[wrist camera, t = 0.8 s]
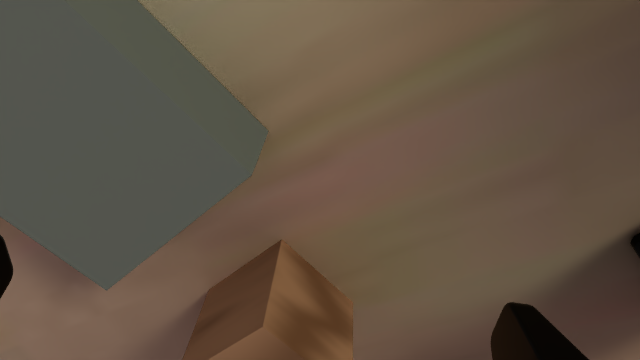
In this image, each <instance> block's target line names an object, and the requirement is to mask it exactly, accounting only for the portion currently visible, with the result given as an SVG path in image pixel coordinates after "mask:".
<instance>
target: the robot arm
mask: <svg viewBox="0 0 640 360" xmlns="http://www.w3.org/2000/svg"><path fill="white" fill-rule="evenodd" d="M630 243H631V246H632V248H633V249H634V250H635V252H636V253H637V255H638V256H639V258H640V233H639V234H637V235H636V236H634V237H633V238H632V240H631V242H630ZM12 275H13V266H12V262H11V259H10V256H9V253H8V250H7V247H6V244H5V241H4V239H3V237H2V236H1V235H0V298H1V297H2V295H3V293H4V292H5V290H6V288H7V286H8V285H9V283H10V281H11V279H12ZM491 351H492V359H493V360H589V359H588V358H587V357H586V356H585V355H583V354H582V353H581V352H580V351H579V350H578V349H577V348H576V347H575V346H574V345H573V344H572V343H571V342H570V341H569V340H568V339H567V338H566V337H565V336H564V335H563V334H562V333H561V332H560V331H559V330H557V329H556V328H555V327H554V326H553V325H552V324H551V323H550V322H549V321H548V320H547V319H546V318H545V317H544V316H543V315H542V314H541V313H540V312H539V311H538V310H537V309H536V308H534V307H533V306H531V305H528V304H521V303H514V302H510V303H507V304H506V305H505V306H504V308H503V310H502V312H501V314H500V317H499V319H498V321H497V323H496V326H495V328H494V330H493V332H492V336H491Z"/></svg>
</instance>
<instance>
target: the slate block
mask: <svg viewBox="0 0 640 360" xmlns="http://www.w3.org/2000/svg"><path fill="white" fill-rule="evenodd" d="M267 134H268V130H267V129H266V128H265V127H264V126H263V125H262V124H261V123H260V122H259V121H258V120H257V119H256V118H255V117H254V116H253V115H252V114H251V113H250V112H249V111H248V110H247V109H246V108H245V107H244V106H243V105H242V104H241V103H240V102H239V101H238V100H237V99H236V98H235V97H234V96H233V95H232V94H231V93H230V92H229V91H228V90H227V89H226V88H225V87H224V86H223V85H222V84H221V83H220V82H219V81H218V80H217V79H216V78H215V77H214V76H213V75H212V74H211V73H210V72H209V71H208V70H207V69H206V68H205V67H204V66H203V65H202V64H201V63H200V62H199V61H198V60H197V59H196V58H194V57H193V56H192V55H191V54H190V53H189V52H188V51H187V50H186V49H185V48H184V47H183V46H182V45H181V44H180V43H179V42H178V41H177V40H176V39H175V38H174V37H173V36H172V35H171V34H170V33H169V32H168V31H167V30H166V29H165V28H164V27H163V26H162V25H161V24H160V23H159V22H158V21H157V20H156V19H155V18H154V17H153V16H152V15H151V14H150V13H149V12H148V11H147V10H146V9H145V8H144V7H143V6H142V5H141V4H140V3H139V2H138V1H137V0H0V217H2V218H3V219H4V220H6V221H7V222H9V223H10V224H12V225H13V226H15V227H16V228H17V229H19V230H20V231H22V232H23V233H25V234H26V235H27V236H29V237H30V238H32V239H33V240H35V241H36V242H37V243H39V244H40V245H42V246H43V247H45V248H46V249H48V250H49V251H50V252H52V253H53V254H55V255H56V256H58V257H59V258H60V259H62V260H63V261H65V262H66V263H68V264H69V265H70V266H72V267H73V268H75V269H76V270H78V271H79V272H81V273H82V274H83V275H85V276H86V277H88V278H89V279H91V280H92V281H93V282H95V283H96V284H98V285H99V286H101V287H102V288H103V289H105V290H106V291H107V290H108V289H109V288H110V287H112V286H113V285H114V284H115V283H117V282H118V281H119V280H121V279H122V278H123V277H124V276H126V275H127V274H128V273H129V272H131V271H132V270H133V269H134V268H136V267H137V266H138V265H139V264H141V263H142V262H143V261H144V260H146V259H147V258H148V257H149V256H151V255H152V254H153V253H154V252H156V251H157V250H158V249H159V248H161V247H162V246H163V245H164V244H166V243H167V242H168V241H170V240H171V239H172V238H173V237H175V236H176V235H177V234H178V233H180V232H181V231H182V230H183V229H185V228H186V227H187V226H188V225H190V224H191V223H192V222H193V221H195V220H196V219H197V218H198V217H200V216H201V215H202V214H203V213H205V212H206V211H207V210H208V209H210V208H211V207H212V206H213V205H215V204H216V203H217V202H219V201H220V200H221V199H222V198H224V197H225V196H226V195H227V194H229V193H230V192H231V191H232V190H234V189H235V188H236V187H237V186H239V185H240V184H241V183H242V182H244V181H245V180H246V179H247V178H249V177H250V176H251V175H252V173H253V171H254V168H255V165H256V163H257V160H258V158H259V155H260V152H261V150H262V147H263V144H264V142H265V139H266V137H267Z"/></svg>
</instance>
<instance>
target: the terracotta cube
mask: <svg viewBox="0 0 640 360" xmlns="http://www.w3.org/2000/svg"><path fill="white" fill-rule="evenodd" d="M183 360H353V302H351V301H350V300H349V299H348V298H347V297H346V296H345V295H344V294H342V293H341V292H340V291H339V290H338V289H337V288H336V287H335V286H333V285H332V284H331V283H330V282H329V281H328V280H327V279H326V278H324V277H323V276H322V275H321V274H320V273H319V272H318V271H317V270H315V269H314V268H313V267H312V266H311V265H310V264H309V263H308V262H306V261H305V260H304V259H303V258H302V257H301V256H300V255H299V254H297V253H296V252H295V251H294V250H293V249H292V248H291V247H290V246H289V245H287V244H286V243H285V242H284V241H283V240H280V241H279V242H277V243H276V244H275V245H273V246H272V247H270V248H269V249H267V250H266V251H264V252H263V253H261V254H260V255H259V256H257V257H256V258H254V259H253V260H251V261H250V262H248V263H247V264H246V265H244V266H243V267H241V268H240V269H238V270H237V271H235V272H234V273H233V274H231V275H230V276H228V277H227V278H225V279H224V280H222V281H221V282H220V283H218V284H217V285H215V286H214V287H212V288H211V289H209V291H208V294H207V296H206V299H205V302H204V304H203V307H202V310H201V312H200V315H199V317H198V320H197V323H196V325H195V328H194V331H193V333H192V336H191V339H190V341H189V344H188V346H187V349H186V352H185V354H184V357H183Z"/></svg>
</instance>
